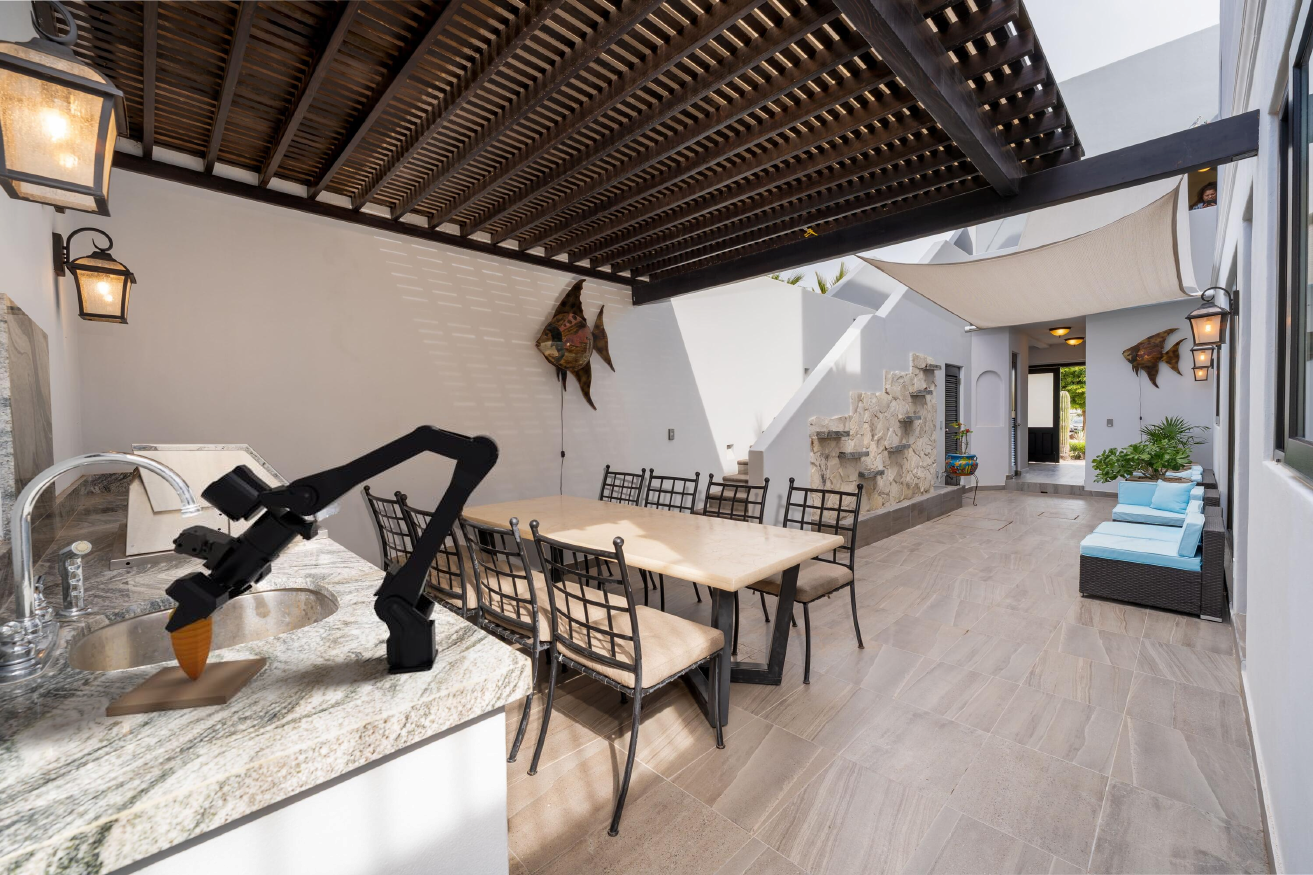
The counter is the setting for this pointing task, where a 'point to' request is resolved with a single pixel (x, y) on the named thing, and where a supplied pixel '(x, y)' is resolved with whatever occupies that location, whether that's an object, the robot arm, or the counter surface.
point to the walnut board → (188, 687)
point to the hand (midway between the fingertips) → (179, 623)
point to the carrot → (192, 646)
